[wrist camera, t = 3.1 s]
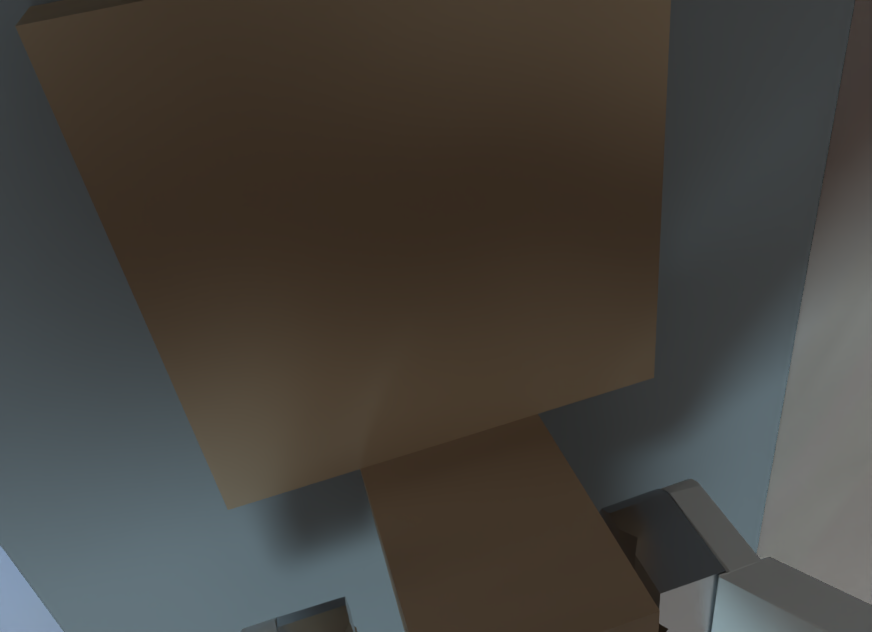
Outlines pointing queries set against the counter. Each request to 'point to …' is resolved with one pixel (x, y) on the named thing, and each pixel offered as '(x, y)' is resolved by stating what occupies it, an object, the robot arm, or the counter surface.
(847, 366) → the counter surface
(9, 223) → the tool rest mat
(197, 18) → the tan stepped block
